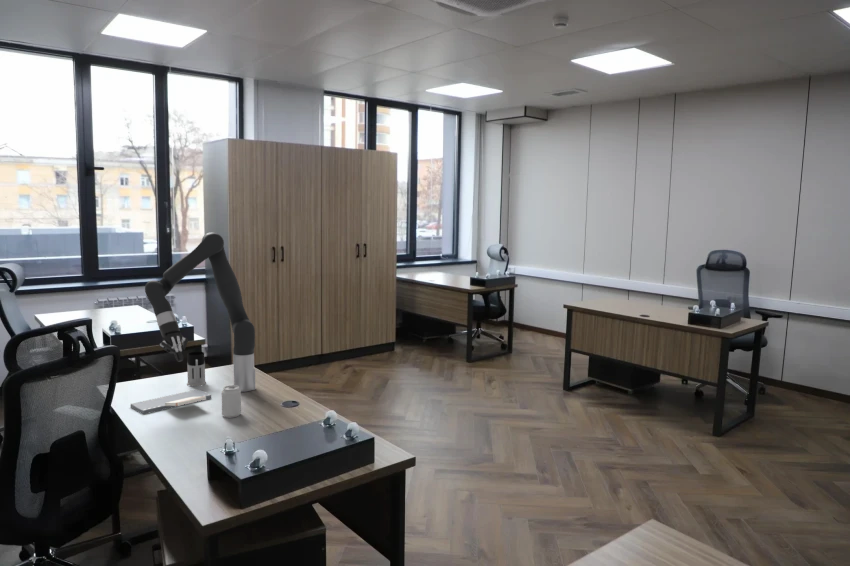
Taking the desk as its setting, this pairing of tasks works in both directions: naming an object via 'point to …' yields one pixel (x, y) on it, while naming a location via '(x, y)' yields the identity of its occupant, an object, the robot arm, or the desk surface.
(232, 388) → the can
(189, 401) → the white square panel
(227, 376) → the desk surface
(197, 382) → the glass holder
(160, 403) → the board
